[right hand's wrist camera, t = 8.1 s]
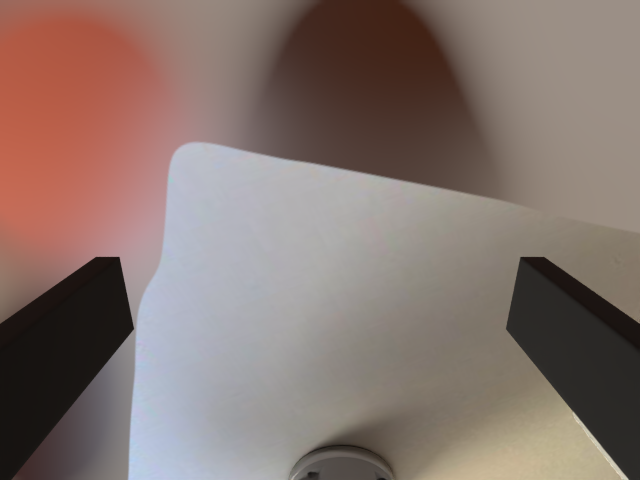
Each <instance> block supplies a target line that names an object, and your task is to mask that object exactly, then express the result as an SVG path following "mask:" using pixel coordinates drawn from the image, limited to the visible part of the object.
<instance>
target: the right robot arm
mask: <svg viewBox="0 0 640 480" xmlns="http://www.w3.org/2000/svg"><path fill="white" fill-rule="evenodd" d="M133 330H134V327H133V322H132V317H131V312H130V307H129V302H128V297H127V292H126V287H125V282H124V277H123V272H122V267H121V262H120V257H95V258H94V259H92V260H91V261H90V262H88V263H87V264H85V265H84V266H82V267H81V268H79V269H78V270H77V271H75V272H74V273H72V274H71V275H69V276H68V277H67V278H65V279H64V280H62V281H61V282H59V283H58V284H57V285H55V286H54V287H52V288H51V289H49V290H48V291H47V292H45V293H44V294H42V295H41V296H39V297H38V298H37V299H35V300H34V301H32V302H31V303H29V304H28V305H27V306H25V307H24V308H22V309H21V310H19V311H18V312H17V313H15V314H14V315H12V316H11V317H9V318H8V319H7V320H5V321H4V322H2V323H1V324H0V480H11V479H12V478H13V477H14V476H15V475H16V473H17V472H18V471H19V470H20V468H21V467H22V466H23V465H24V463H25V462H26V461H27V460H28V459H29V457H30V456H31V455H32V454H33V452H34V451H35V450H36V449H37V448H38V446H39V445H40V444H41V443H42V441H43V440H44V439H45V438H46V436H47V435H48V434H49V433H50V432H51V430H52V429H53V428H54V427H55V425H56V424H57V423H58V422H59V420H60V419H61V418H62V417H63V415H64V414H65V413H66V412H67V411H68V409H69V408H70V407H71V406H72V404H73V403H74V402H75V401H76V400H77V398H78V397H79V396H80V395H81V393H82V392H83V391H84V390H85V389H86V387H87V386H88V385H89V384H90V382H91V381H92V380H93V379H94V377H95V376H96V375H97V374H98V373H99V371H100V370H101V369H102V368H103V366H104V365H105V364H106V363H107V362H108V360H109V359H110V358H111V357H112V355H113V354H114V353H115V352H116V350H117V349H118V348H119V347H120V346H121V344H122V343H123V342H124V341H125V339H126V338H127V337H128V336H129V334H130V333H131V332H132V331H133ZM506 330H507V331H508V332H509V333H510V334H511V336H512V337H513V338H514V339H515V341H516V342H517V343H518V344H519V346H520V347H521V348H522V349H523V350H524V352H525V353H526V354H527V355H528V357H529V358H530V359H531V360H532V362H533V363H534V364H535V365H536V366H537V368H538V369H539V370H540V371H541V373H542V374H543V375H544V376H545V377H546V379H547V380H548V381H549V382H550V384H551V385H552V386H553V387H554V389H555V390H556V391H557V392H558V393H559V395H560V396H561V397H562V398H563V400H564V401H565V402H566V403H567V405H568V406H569V407H570V408H571V409H572V411H573V412H574V413H575V414H576V416H577V417H578V418H579V419H580V420H581V422H582V423H583V424H584V425H585V427H586V428H587V429H588V430H589V432H590V433H591V434H592V435H593V436H594V438H595V439H596V440H597V441H598V443H599V444H600V445H601V446H602V448H603V449H604V450H605V451H606V452H607V454H608V455H609V456H610V457H611V459H612V460H613V461H614V462H615V464H616V465H617V466H618V467H619V468H620V470H621V471H622V472H623V473H624V475H625V476H626V477H627V478H628V479H629V480H640V324H639V323H638V322H636V321H635V320H633V319H632V318H631V317H629V316H628V315H626V314H625V313H623V312H622V311H621V310H619V309H618V308H616V307H615V306H613V305H612V304H611V303H609V302H608V301H606V300H605V299H603V298H602V297H601V296H599V295H598V294H596V293H595V292H593V291H592V290H591V289H589V288H588V287H586V286H585V285H583V284H582V283H581V282H579V281H578V280H576V279H575V278H573V277H572V276H571V275H569V274H568V273H566V272H565V271H563V270H562V269H561V268H559V267H558V266H556V265H555V264H553V263H552V262H550V261H549V260H548V259H546V258H545V257H520V262H519V267H518V272H517V277H516V282H515V287H514V292H513V297H512V302H511V307H510V312H509V317H508V322H507V326H506ZM289 480H394V477H393V474H392V471H391V469H390V467H389V466H388V464H387V463H386V462H385V461H384V460H383V459H382V458H380V457H379V456H377V455H376V454H374V453H372V452H370V451H368V450H365V449H362V448H358V447H352V446H332V447H326V448H322V449H319V450H316V451H314V452H312V453H310V454H308V455H306V456H305V457H303V458H302V459H301V460H300V461H298V462H297V464H296V465H295V466H294V467H293V469H292V471H291V473H290V476H289Z"/></svg>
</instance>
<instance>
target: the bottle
mask: <svg viewBox="0 0 640 480" xmlns="http://www.w3.org/2000/svg"><path fill="white" fill-rule="evenodd" d="M573 417H574V418H575V420H576V421H577V422H578V423H579V425H580V426H581V427H582V428H583V430H584V431H585V432H586V434H587V435H588V436H589V437H590V439H591V440H592V441H593V443H594V444H595V445H596V446H597V448H598V449H599V450H600V451H601V453H602V454H603V455H604V457H605V458H606V459H607V460H608V462H609V463H610V464H611V466H612V467H613V468H614V469H615V471H616V472H617V473H618V474H619V476H620V477H621V478H622V480H629V479H628V478H627V477H626V476H625V475H624V473H623V472H622V471H621V470H620V468H619V467H618V466H617V465H616V464H615V462H614V461H613V460H612V459H611V457H610V456H609V455H608V454H607V452H606V451H605V450H604V449H603V448H602V446H601V445H600V444H599V443H598V441H597V440H596V439H595V438H594V436H593V435H592V434H591V433H590V432H589V430H588V429H587V428H586V427H585V425H584V424H583V423H582V422H581V420H580V419H579V418H578V417H577V416H576V414H575V413H574V412H573Z"/></svg>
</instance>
